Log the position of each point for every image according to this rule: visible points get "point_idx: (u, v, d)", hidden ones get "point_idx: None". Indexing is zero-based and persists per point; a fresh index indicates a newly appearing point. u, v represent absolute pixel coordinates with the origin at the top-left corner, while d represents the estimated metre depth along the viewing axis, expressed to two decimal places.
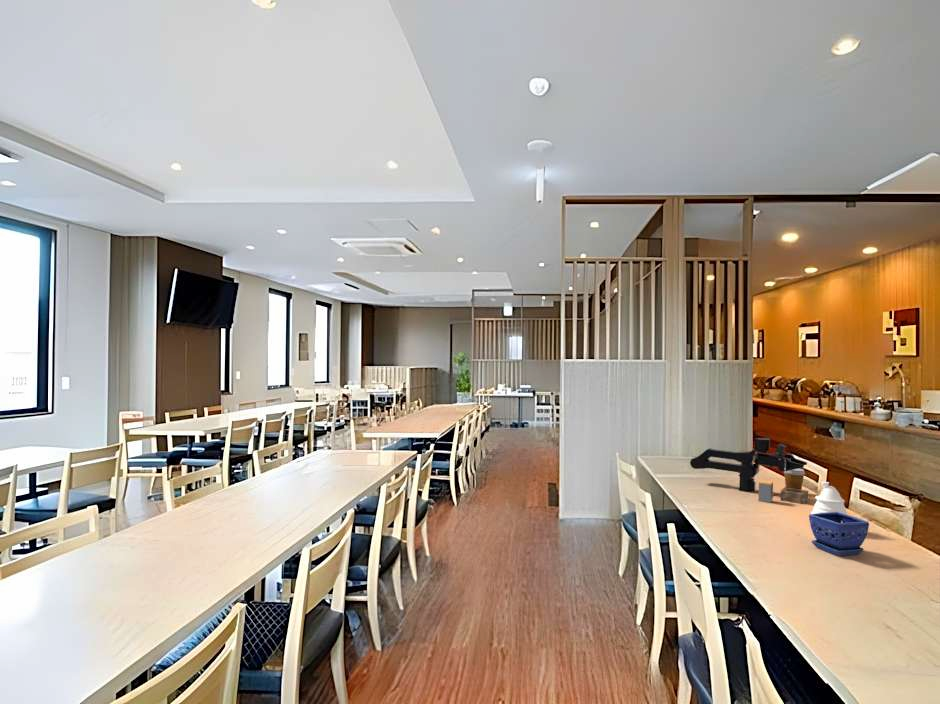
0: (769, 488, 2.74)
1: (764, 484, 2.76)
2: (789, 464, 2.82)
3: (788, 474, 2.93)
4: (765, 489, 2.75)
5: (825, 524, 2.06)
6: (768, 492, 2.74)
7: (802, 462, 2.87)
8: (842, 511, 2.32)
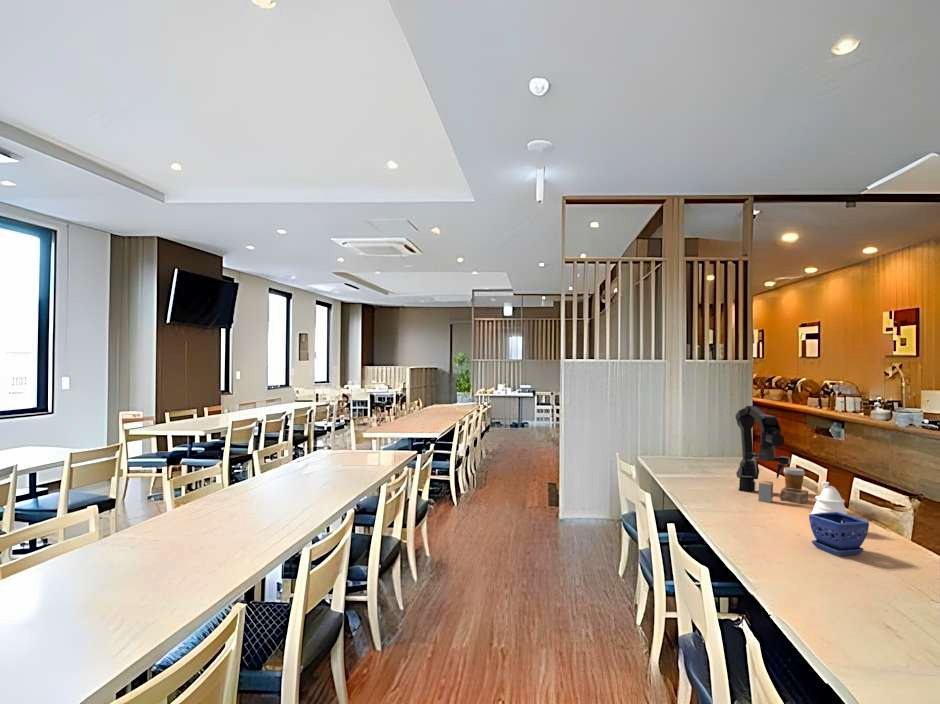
0: (769, 488, 2.74)
1: (764, 484, 2.76)
2: None
3: (788, 474, 2.93)
4: (765, 489, 2.75)
5: (825, 524, 2.06)
6: (768, 492, 2.74)
7: (777, 474, 2.74)
8: (842, 511, 2.32)
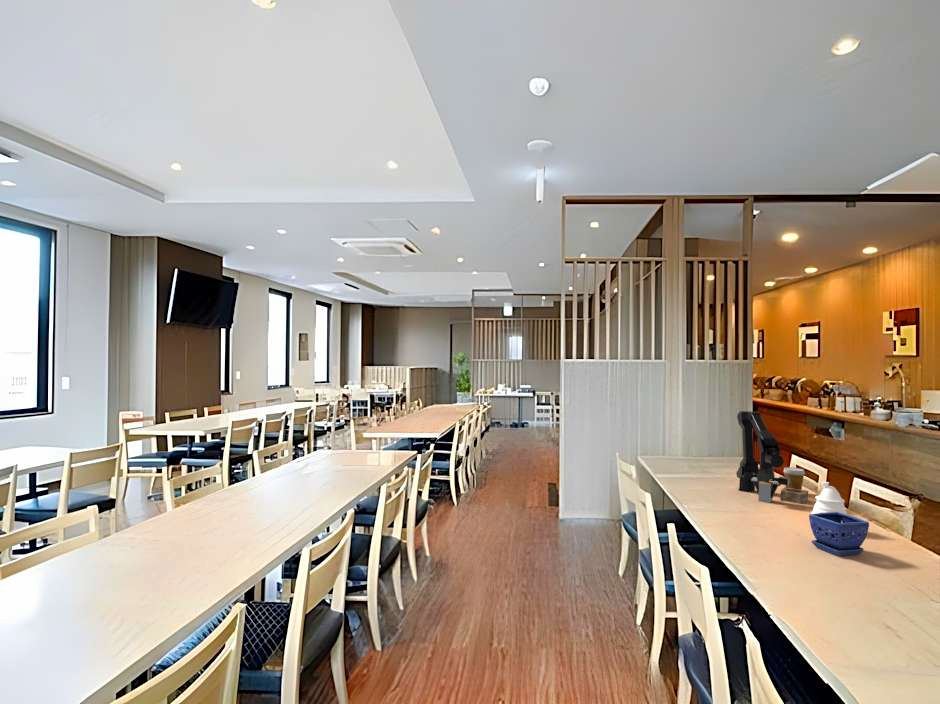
0: (769, 488, 2.74)
1: (764, 484, 2.76)
2: None
3: (788, 474, 2.93)
4: (765, 489, 2.75)
5: (825, 524, 2.06)
6: (768, 492, 2.74)
7: None
8: (842, 511, 2.32)
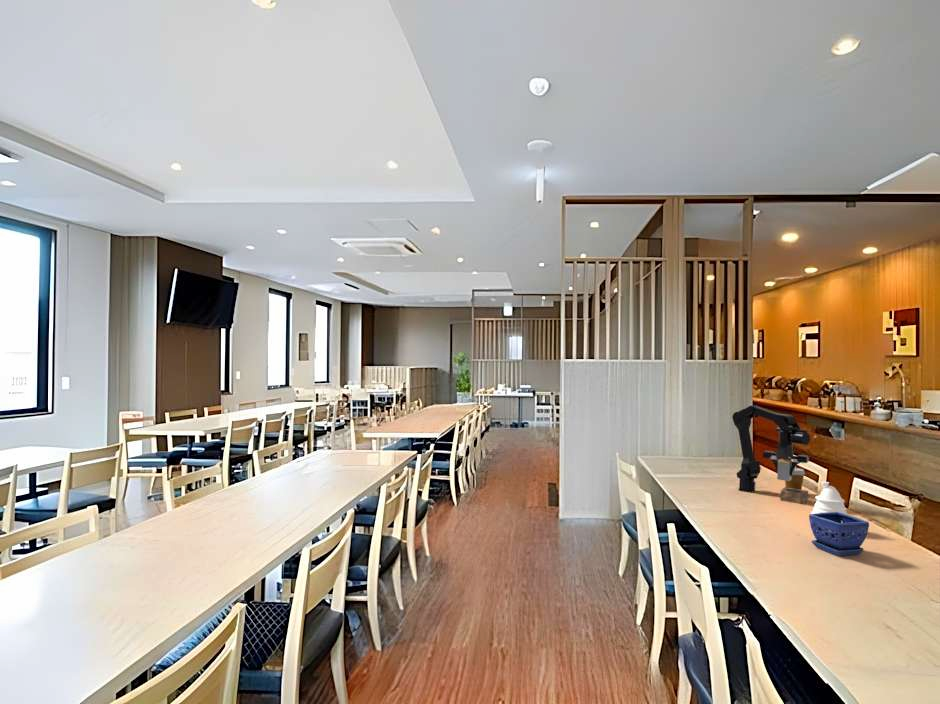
0: (788, 466, 2.76)
1: (783, 462, 2.77)
2: None
3: None
4: (784, 467, 2.77)
5: (825, 524, 2.06)
6: (787, 470, 2.76)
7: None
8: (842, 511, 2.32)
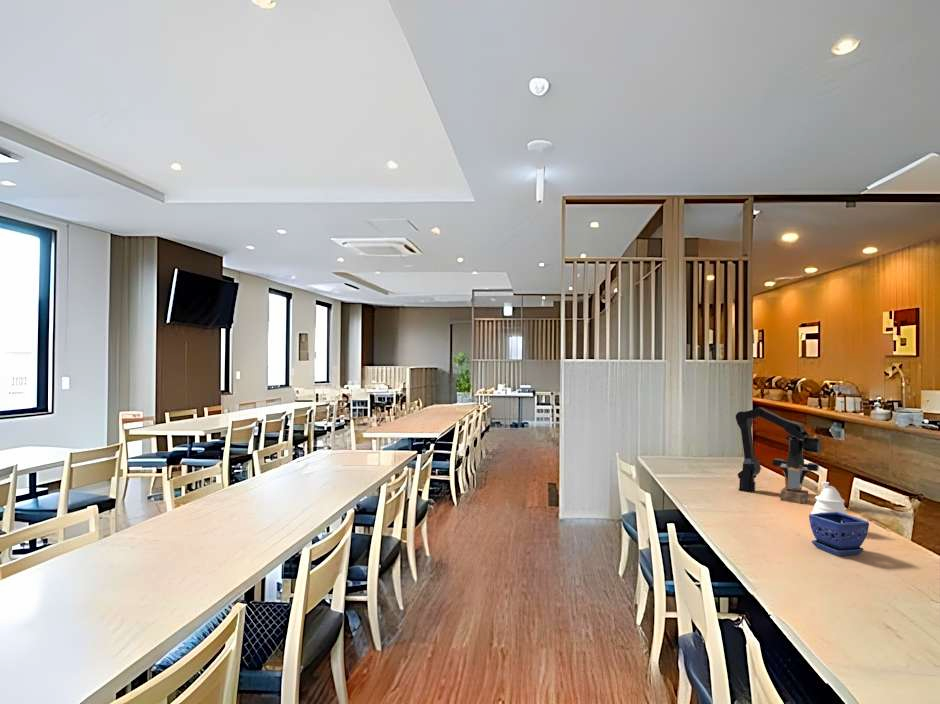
0: (798, 474, 2.78)
1: (793, 470, 2.79)
2: None
3: None
4: (794, 475, 2.79)
5: (825, 524, 2.06)
6: (797, 478, 2.78)
7: None
8: (842, 511, 2.32)
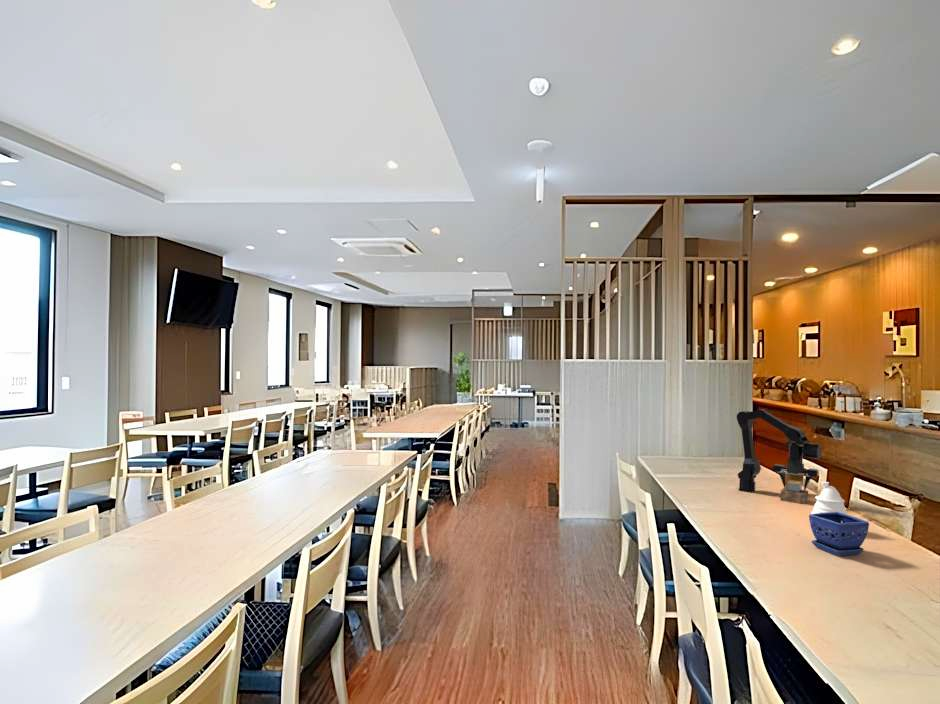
0: (798, 487, 2.78)
1: (793, 483, 2.79)
2: None
3: (788, 474, 2.93)
4: (794, 488, 2.79)
5: (825, 524, 2.06)
6: (797, 491, 2.78)
7: None
8: (842, 511, 2.32)
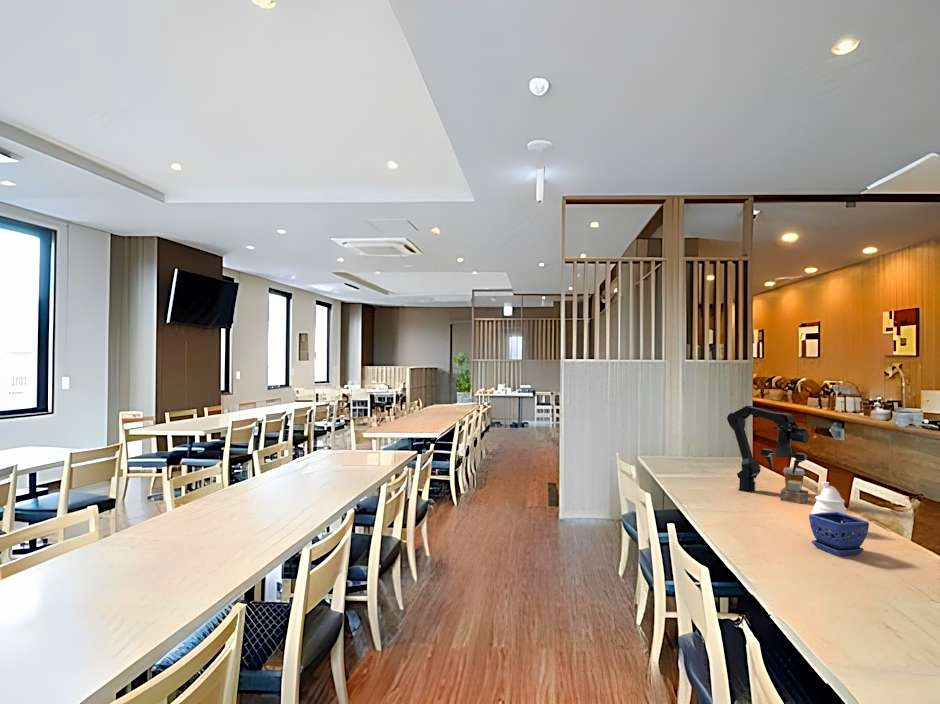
0: (798, 487, 2.78)
1: (793, 483, 2.79)
2: None
3: (788, 474, 2.93)
4: (794, 488, 2.79)
5: (825, 524, 2.06)
6: (797, 491, 2.78)
7: (793, 470, 2.81)
8: (842, 511, 2.32)
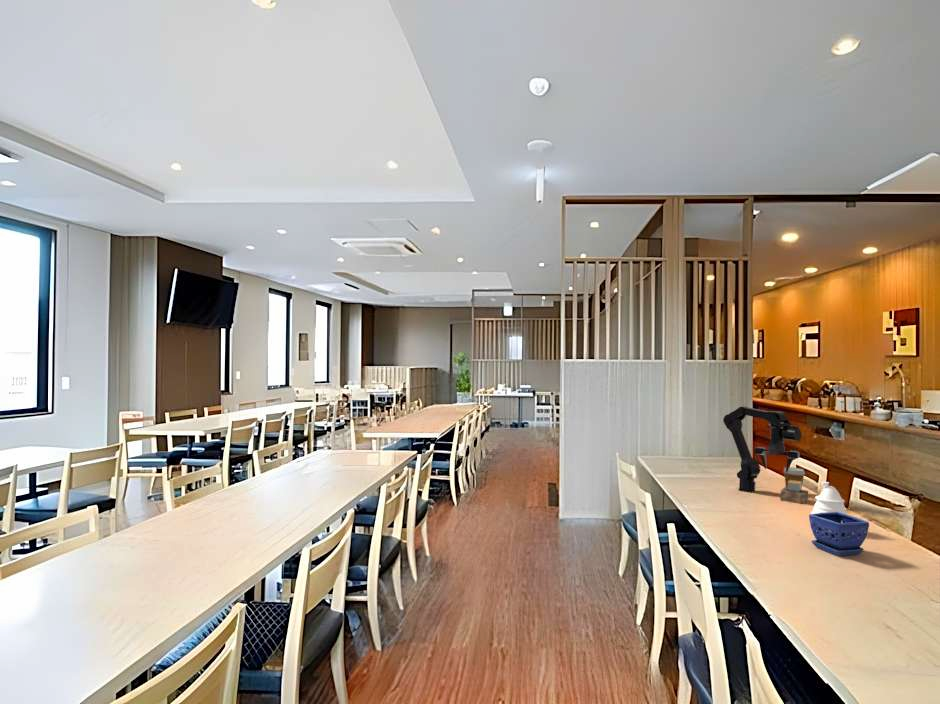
0: (798, 487, 2.78)
1: (793, 483, 2.79)
2: None
3: (788, 474, 2.93)
4: (794, 488, 2.79)
5: (825, 524, 2.06)
6: (797, 491, 2.78)
7: None
8: (842, 511, 2.32)
